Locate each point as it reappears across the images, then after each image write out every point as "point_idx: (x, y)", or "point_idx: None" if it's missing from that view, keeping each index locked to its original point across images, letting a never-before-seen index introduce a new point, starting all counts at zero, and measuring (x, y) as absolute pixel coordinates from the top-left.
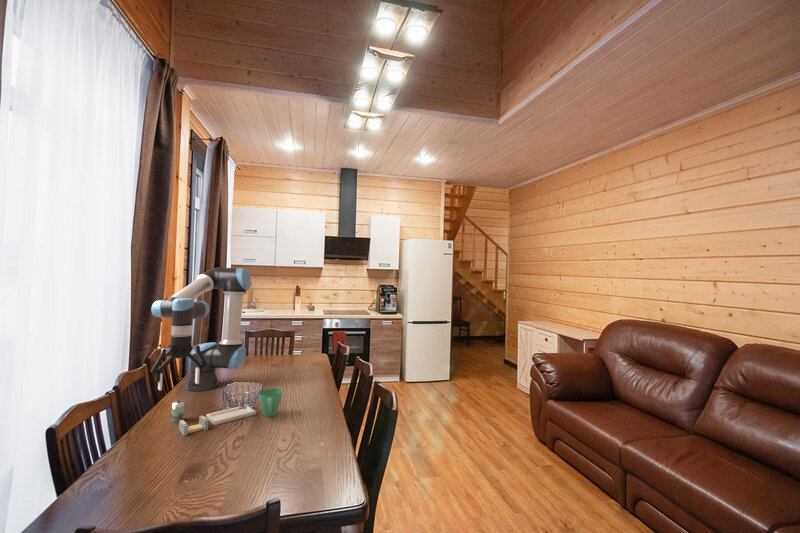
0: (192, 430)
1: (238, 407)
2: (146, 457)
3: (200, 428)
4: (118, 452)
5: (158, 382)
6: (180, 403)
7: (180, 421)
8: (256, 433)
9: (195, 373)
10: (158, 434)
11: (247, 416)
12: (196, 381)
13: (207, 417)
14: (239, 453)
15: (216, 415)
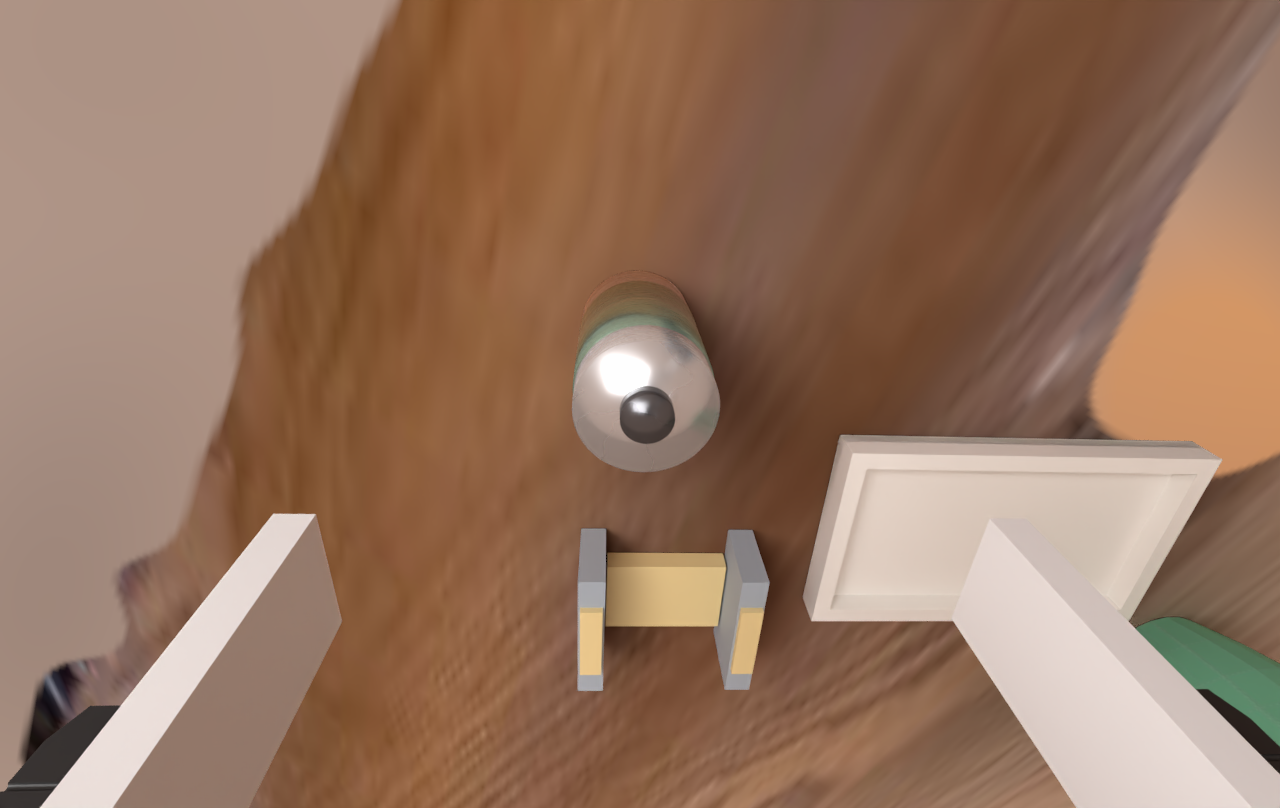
0: (644, 619)
1: (1132, 471)
2: (351, 743)
3: (697, 620)
4: None
5: (186, 654)
6: (652, 467)
7: (581, 602)
8: (889, 795)
9: (1149, 709)
10: (441, 515)
11: None
12: (988, 627)
13: (838, 470)
14: None
15: (914, 470)
